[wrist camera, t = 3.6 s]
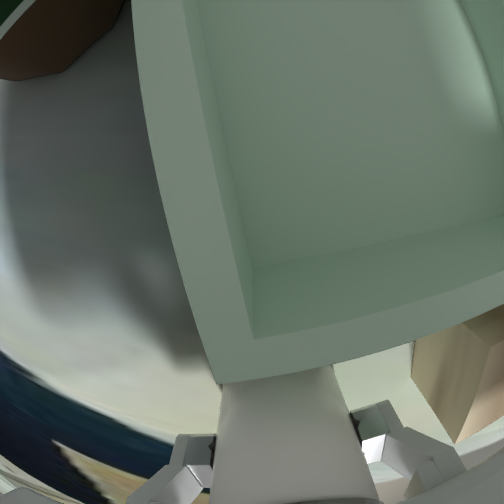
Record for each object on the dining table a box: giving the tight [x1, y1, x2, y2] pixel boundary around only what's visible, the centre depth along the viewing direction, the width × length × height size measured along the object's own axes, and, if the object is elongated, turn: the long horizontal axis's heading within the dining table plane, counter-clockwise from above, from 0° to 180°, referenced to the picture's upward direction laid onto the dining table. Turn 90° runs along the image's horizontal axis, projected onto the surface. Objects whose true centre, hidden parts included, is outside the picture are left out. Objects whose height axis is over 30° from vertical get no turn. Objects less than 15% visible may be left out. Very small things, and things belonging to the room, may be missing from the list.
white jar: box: [209, 365, 384, 504], centre depth 8 cm, size 5×5×8 cm
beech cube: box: [411, 304, 504, 444], centre depth 9 cm, size 5×5×5 cm
